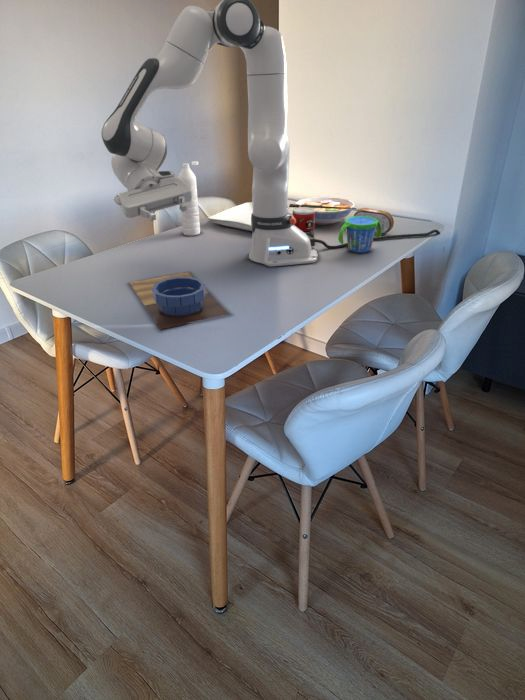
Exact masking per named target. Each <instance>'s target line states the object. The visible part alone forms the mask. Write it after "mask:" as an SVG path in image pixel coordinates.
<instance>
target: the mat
mask: <svg viewBox="0 0 525 700" xmlns="http://www.w3.org/2000/svg"><path fill="white" fill-rule="evenodd" d="M144 307H145V309H146V310H147V311H148V313H149V314H150V316H151V317H152V319H153V320H154V322H155V323H156V326H157V328H158V329H159V330H160V331H163V330H168V329H172V328H177V327H181V326H186V325H191V324H192V323H194V322H199V321H203V320H207V319H213V318H217V317H221V316H227V315H230V313H229V312H228V311H227V310H226V309H225V308H224V307H223V306H222V305H221V304H220V303H219V301H217V300H216V299H215V298H214V297H213V296H212V294H210V293H209V292H208V293H206V295H205V298H204V299H203V304H202V307H201V309H199V310H198V311H196V312H195V313H193V314H190V315H185V316H171V315H167V314H164V313H163V312H162V311H161V310H159V309H158V304H157V303H155V304H150V305H144Z"/></svg>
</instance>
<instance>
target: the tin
mask: <svg viewBox="0 0 525 700" xmlns="http://www.w3.org/2000/svg"><path fill="white" fill-rule="evenodd" d="M353 216H368V217H373V218H375V219H377V220H378V221H379V222H380V223H381V228H382V234H381V236H384V235H386V234H387V233H389V232H391V231H392V229H393V227H394V224H395V221H394V217H393V215H392V214H391V213H390V212H389V211H386V210H381V209H375V208H369V207H362V208H359V209H358V210H356V212H355V213H354V214H353ZM376 232H377V227H376V228H375V233H374V235H376Z"/></svg>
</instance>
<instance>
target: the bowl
mask: <svg viewBox="0 0 525 700" xmlns="http://www.w3.org/2000/svg"><path fill="white" fill-rule="evenodd" d="M192 277H193V276H192ZM192 277H174V278H169V279H164V280H162V281H160V282H158V283H156V284H155V285H154V286H153V288H152V293H153V299H154V300H155V302H156V303H157V304H158V309H159V310H161V311H162V312H163V313H164V314H167V315H171V316H185V315H190V314H193V313H195V312H196V311H198V310H199V309H201V307H202V304H203V299H204V298H205V295H206V291H207V288H206V283H205V282H204V281H203V280H202V279H200V278H196V277H193V278H192ZM173 288H174V289H173ZM192 288H193V289H192ZM168 289H169V290H168ZM166 290H167V291H166Z"/></svg>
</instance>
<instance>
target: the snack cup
mask: <svg viewBox="0 0 525 700" xmlns="http://www.w3.org/2000/svg"><path fill="white" fill-rule="evenodd" d="M376 227H377V232H376V234H374V233H375V228H376ZM345 231H346V241H347V242H346V243H348V246H347V248H348V250H349V252H353V253H356V254H363V253H368V252H370V251H371V248H372V247H373V242H374V240H373V238H374V237H381V236H382V235H381V234H382V228H381V223H380V222H379V221H378V220H377V219H375V218H373V217H368V216H354V215H353V216H349V217H347V218H345V220H344V223H343V224H342V226H341V227H340V230H339V233H338V242H339V244H340V245H341V244H344V232H345Z"/></svg>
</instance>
